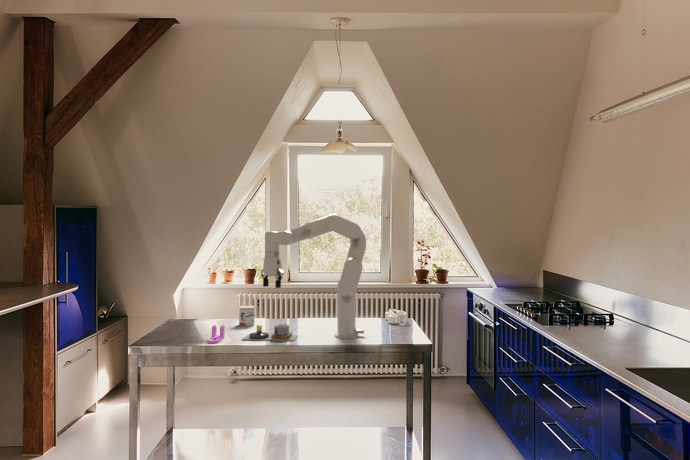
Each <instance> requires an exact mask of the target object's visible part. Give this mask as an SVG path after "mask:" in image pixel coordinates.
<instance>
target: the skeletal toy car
mask: <svg viewBox="0 0 690 460" xmlns="http://www.w3.org/2000/svg"><path fill="white" fill-rule="evenodd" d="M407 316H408V315H407V312H406V311H404V310H399V309H394V308H389V309H388V311H385V313H384V319H385V321H387V322H388V324H392V325H396V324H399V323H400V322H401V317H402V318H403V319H402V320H403V322H402V324H399V325H402V326H404V325H406V324H407Z"/></svg>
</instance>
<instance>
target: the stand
mask: <svg viewBox="0 0 690 460" xmlns="http://www.w3.org/2000/svg"><path fill="white" fill-rule="evenodd" d="M279 325H280V324H279ZM283 326H284V325H280V327H283ZM270 335H271V339H290V338H291V336H292V335H293V331H289V334H287V335H276V334H274V332H273V333H272V334H270Z"/></svg>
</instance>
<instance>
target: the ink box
mask: <svg viewBox="0 0 690 460" xmlns="http://www.w3.org/2000/svg"><path fill="white" fill-rule="evenodd" d="M238 307H239V309H238V310H239V313H238V318H239V319H238V322H239V323H238V326H239V327H250V326H251V327H253V326H255V306H254V305H240V306H238Z"/></svg>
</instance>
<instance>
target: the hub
mask: <svg viewBox="0 0 690 460" xmlns="http://www.w3.org/2000/svg"><path fill="white" fill-rule="evenodd" d="M262 327H263V325H262V324H256V332H251V333H249V334H248V335H249V338H251V339H265V338H268V337H269V335H270V334H269V333H270V332H269V333H268V332H265V331H263V328H262Z"/></svg>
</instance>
